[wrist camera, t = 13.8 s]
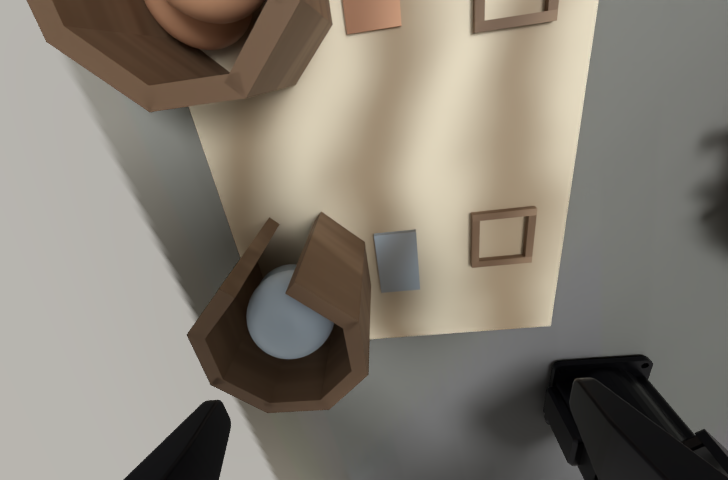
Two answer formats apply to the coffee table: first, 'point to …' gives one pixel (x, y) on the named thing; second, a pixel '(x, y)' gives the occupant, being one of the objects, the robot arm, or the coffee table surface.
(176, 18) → the terracotta ball in tube
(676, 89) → the coffee table surface
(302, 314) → the slate-blue ball
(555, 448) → the coffee table surface
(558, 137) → the cream wooden tray
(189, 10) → the terracotta ball
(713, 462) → the robot arm
